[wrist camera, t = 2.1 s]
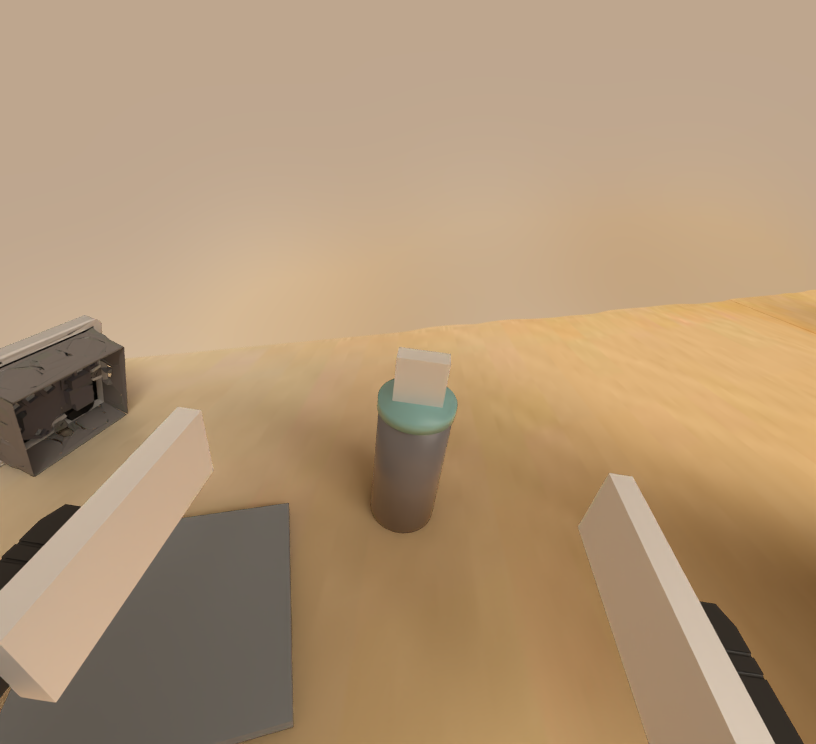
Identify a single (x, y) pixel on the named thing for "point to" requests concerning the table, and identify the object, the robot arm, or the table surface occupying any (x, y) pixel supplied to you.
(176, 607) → the pad
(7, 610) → the robot arm
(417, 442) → the trash can
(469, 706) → the table surface
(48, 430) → the electrical switch
